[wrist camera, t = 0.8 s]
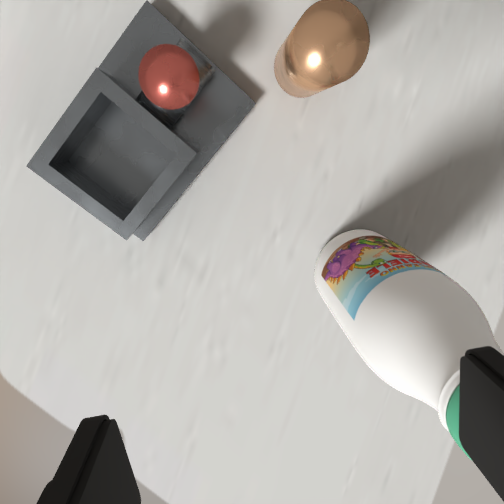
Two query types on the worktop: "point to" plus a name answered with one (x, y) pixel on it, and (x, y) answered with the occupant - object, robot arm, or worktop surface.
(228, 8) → the worktop surface
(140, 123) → the block
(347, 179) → the worktop surface
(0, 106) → the worktop surface
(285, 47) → the pipe stub
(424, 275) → the milk bottle
